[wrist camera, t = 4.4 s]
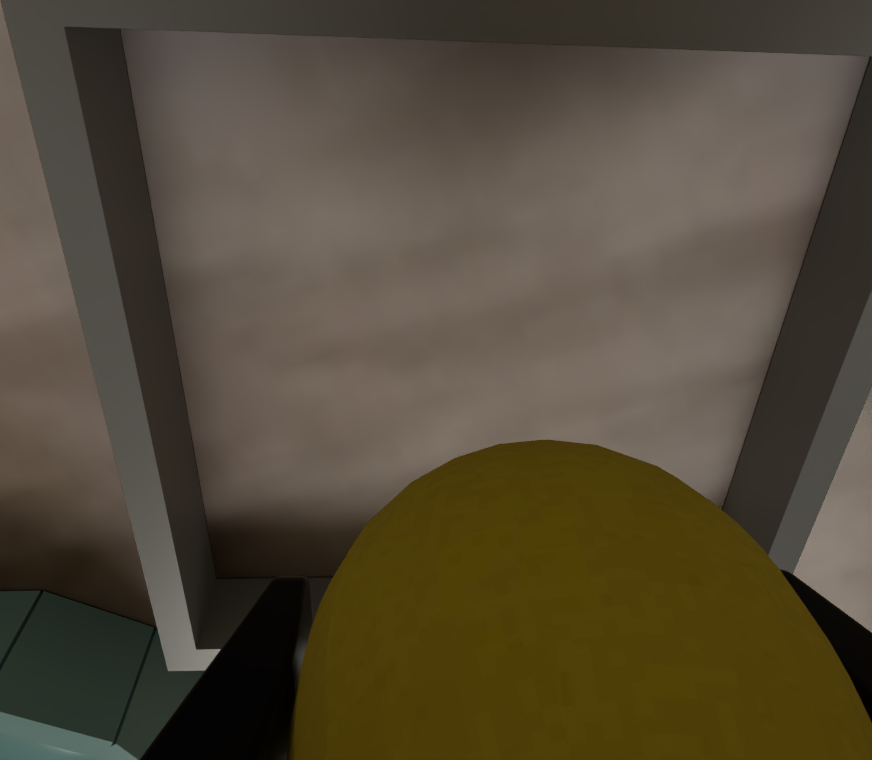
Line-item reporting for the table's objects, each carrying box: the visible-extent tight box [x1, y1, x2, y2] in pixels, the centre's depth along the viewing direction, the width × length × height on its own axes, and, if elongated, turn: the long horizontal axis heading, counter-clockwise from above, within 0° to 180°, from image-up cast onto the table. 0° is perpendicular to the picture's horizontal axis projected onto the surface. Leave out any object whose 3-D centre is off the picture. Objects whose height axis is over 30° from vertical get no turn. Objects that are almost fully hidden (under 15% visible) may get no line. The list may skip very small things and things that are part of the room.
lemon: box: [286, 440, 872, 760], centre depth 7 cm, size 6×6×8 cm
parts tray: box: [1, 0, 872, 671], centre depth 13 cm, size 13×13×2 cm
